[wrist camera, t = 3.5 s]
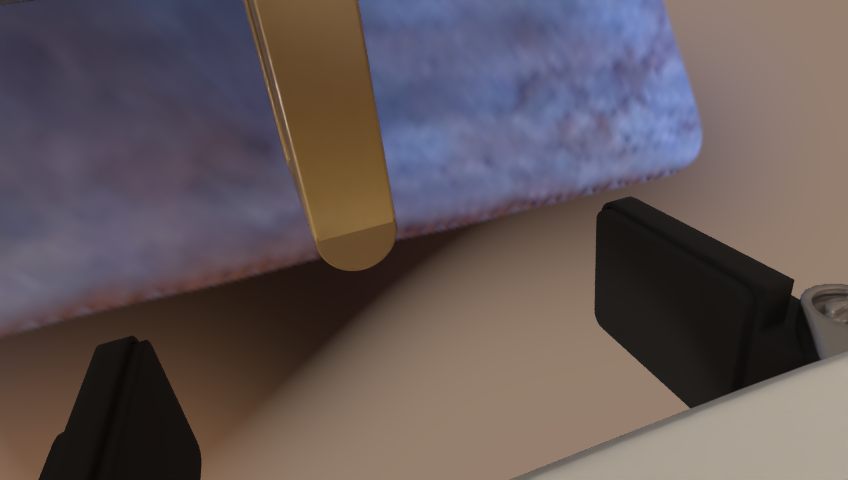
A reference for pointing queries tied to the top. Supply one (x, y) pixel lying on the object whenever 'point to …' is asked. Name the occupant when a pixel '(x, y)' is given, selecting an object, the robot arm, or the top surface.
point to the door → (326, 123)
